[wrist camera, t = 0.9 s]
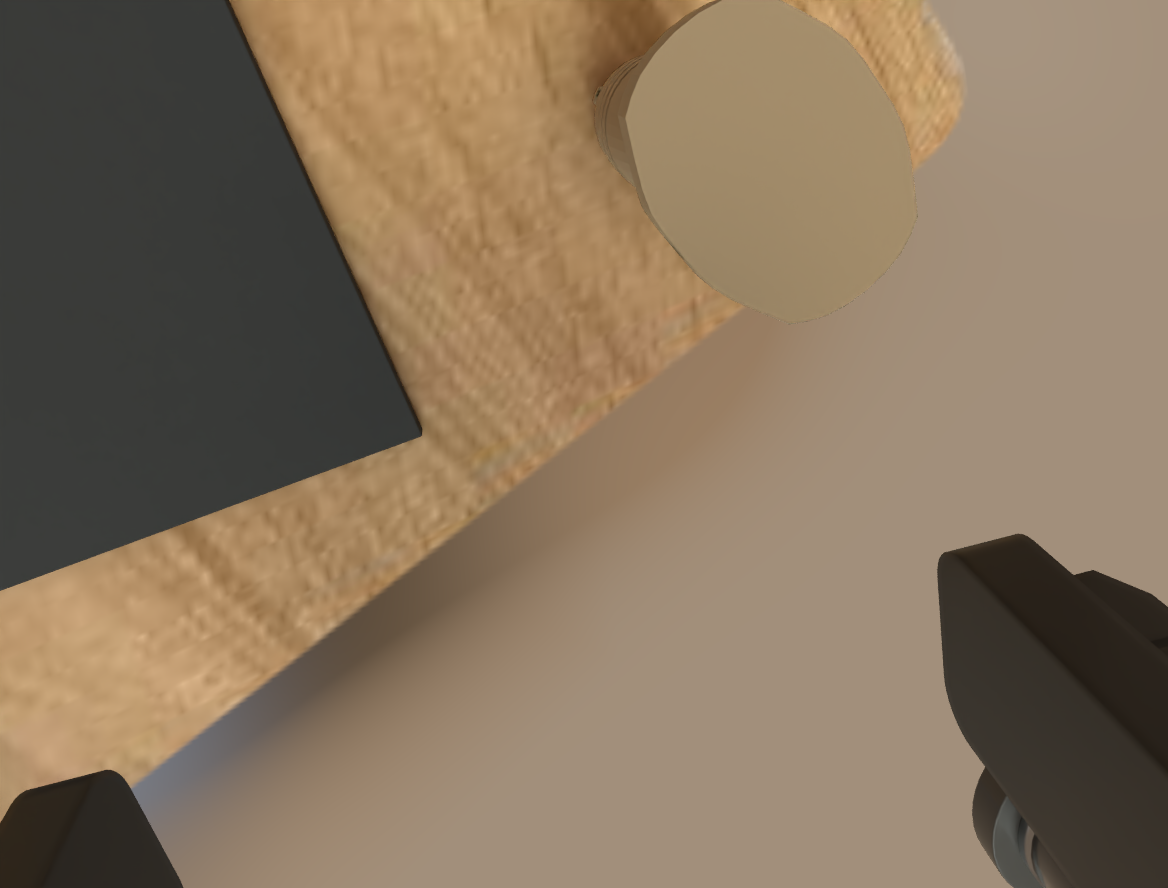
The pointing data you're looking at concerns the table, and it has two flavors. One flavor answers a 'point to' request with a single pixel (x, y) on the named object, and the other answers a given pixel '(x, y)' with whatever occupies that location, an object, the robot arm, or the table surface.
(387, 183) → the table surface
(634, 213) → the table surface
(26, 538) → the mat
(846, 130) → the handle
